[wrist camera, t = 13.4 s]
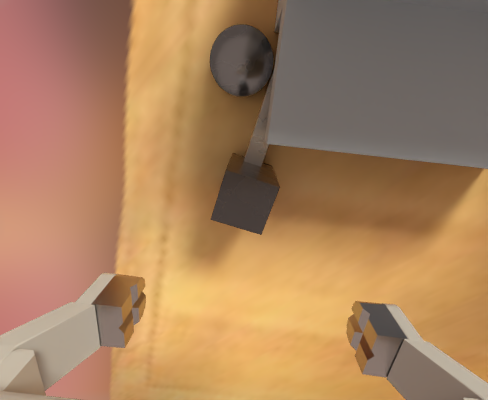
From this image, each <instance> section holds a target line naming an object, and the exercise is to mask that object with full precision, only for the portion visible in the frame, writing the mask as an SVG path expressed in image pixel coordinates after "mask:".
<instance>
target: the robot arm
mask: <svg viewBox="0 0 488 400" xmlns="http://www.w3.org/2000/svg"><path fill="white" fill-rule="evenodd" d="M144 288H145V279H144V278H143V277H135V276H128V275H120V274H111V273H103V274H101V275H100V276H99V277H98V278H97V279H96V280H95V281H94V283H93V284H92V285H91V286H90V287H89V288H88V289H87V290H86V291H85V292H84V293H83V294H82V296H81V297H80V298H79V299H78V300H77V301H76V302H75V303H72V302H71V303H68V304H66V305H64V306H62V307H60V308H58V309H56V310H53V311H51V312H49V313H47V314H45V315H43V316H41V317H38V318H36V319H35V320H32V321H30V322H28V323H26V324H24V325H21V326H20V327H17V328H15V329H13V330H11V331H9V332H7V333H5V334H2V335H0V400H79V399H70V398H61V397H52V396H46V394H45V391H46V390H47V389H48V388H49V387H51V386H52V385H53V384H54V383H56V382H57V381H58V380H60V379H61V378H62V377H63V376H65V375H66V374H67V373H68V372H70V371H71V370H72V369H74V368H75V367H76V366H77V365H79V364H80V363H81V362H82V361H84V360H85V359H86V358H88V357H89V356H90V355H91V354H93V353H94V352H95V351H96V350H98V349H99V348H100V346H107V347H120V348H125V347H126V345H127V344H128V342H129V340H130V338H131V336H132V334H133V332H134V325H135V324H136V323H138V322H139V321H140V319H141V317H142V315H143V312H144V309H145V304H146V295H145V294H144V293H143V292H142V291H143V289H144ZM352 311H353V313H354V314H353V315H352V316H351V317H349V318H348V322H347V336H348V340H349V343H350V345H351V346H352V347H353V348H354V349H355V350H357V351H356V354H355V357H356V360H357V362H358V365H359V367H360V370H361V372H362V374H366V375H373V376H380V377H387V380H388V381H389V382H390V383H391V384H392V385H393V386H394V387H395V388H396V390H397V391H398V392H399V393H400V394H401V395H402V396H403V397H404V398H405V399H406V400H488V383H487V382H485V381H484V380H482V379H481V378H479V377H478V376H477V375H475V374H474V373H472V372H471V371H469V370H468V369H467V368H465V367H464V366H462V365H461V364H459V363H458V362H457V361H455V360H454V359H452V358H451V357H449V356H448V355H447V354H445V353H444V352H442V351H441V350H439V349H438V348H437V347H435V346H434V345H432V344H431V343H429V342H427V341H423V339H422V338H421V336H420V335H419V334H418V332H417V331H416V330H415V328H414V327H413V325H412V324H411V323H410V321H409V320H408V319H407V317H406V316H405V314H404V313H403V312H402V310H401V309H400V308H399V307H398V306H397V305H395V304H383V303H382V304H380V303H370V302H361V301H355V302H354V304H353V306H352Z"/></svg>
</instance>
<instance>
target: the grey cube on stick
mask: <svg viewBox="0 0 488 400" xmlns="http://www.w3.org/2000/svg"><path fill="white" fill-rule="evenodd" d="M274 67H275V65H274ZM273 75H274V68H273V71H272V74H271V78H270V81H269V84H268V87H267V90H266V93H265V96H264V99H263V102H262V105H261V108H260V111H259V114H258V117H257V120H256V123H255V127H254V130H253V133H252V136H251V139H250V142H249V145H248V148H247V151H246V154H245V157H243V156H240V155H237V154H234V153H233V154H232V156H231V159H230V161H229V164H228V166H227V169H226V172H225V175H224V178H223V181H222V185H221V188H220V191H219V194H218V198H217V201H216V204H215V207H214V211H213V214H212V217H211V220H214V221H217V222H220V223H224V224H227V225H230V226H234V227H237V228H240V229H244V230H247V231H250V232H254V233H257V234H260V235H261V234H262V231H263V229H264V226H265V224H266V221H267V219H268V216H269V214H270V211H271V209H272V206H273V203H274V201H275V198H276V196H277V193H278V191H279V188H280V186H279V184H278V181H277V178H276V176H275V173H274V170H273V168H272V166H270V165H267V164H264V163H263V160H264V157H265V154H266V151H267V149H268V146H269V144H267V143H266V141H265V134H266V127H267V119H268V112H269V105H270V97H271V90H272V82H273Z"/></svg>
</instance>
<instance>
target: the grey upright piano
mask: <svg viewBox="0 0 488 400" xmlns="http://www.w3.org/2000/svg"><path fill="white" fill-rule="evenodd" d="M274 32H277V33H279V37H278V45H277V52H276V60H275V67H274V75H273V82H272V90H271V97H270V105H269V112H268V119H267V127H266V134H265V141H266V143H267V144H272V145H281V146H290V147H299V148H308V149H316V150H325V151H334V152H343V153H352V154H361V155H370V156H379V157H387V158H396V159H405V160H414V161H423V162H432V163H441V164H450V165H458V166H467V167H476V168H485V169H488V0H278V7H277V15H276V23H275V30H274Z"/></svg>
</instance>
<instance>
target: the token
mask: <svg viewBox="0 0 488 400" xmlns="http://www.w3.org/2000/svg"><path fill="white" fill-rule="evenodd" d="M210 67H211V71H212V74H213V77H214V79H215V81H216V82H217V84H218V85H219V86H220V87H221V88H222V89H223V90H225V91H226V92H227V93H229V94H231V95H233V96H237V97H247V96H251V95H253V94H255V93H257V92H258V91H260V90H261V89H262V88H263V87H264V85H265V84H266V83H267V81H268V79H269V77H270V75H271V72H272V69H273V52H272V48H271V46H270V43H269V41H268V40H267V38H266V37H265V36H264V34H263V33H262V32H260V31H259V30H258V29H256V28H254V27H252V26H249V25H234V26H231V27H229V28H227V29H225V30H224V31H223V32H222V33H221V34H220V35H219V36H218V37H217V39H216V40H215V42H214V44H213V46H212V49H211V54H210Z"/></svg>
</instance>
